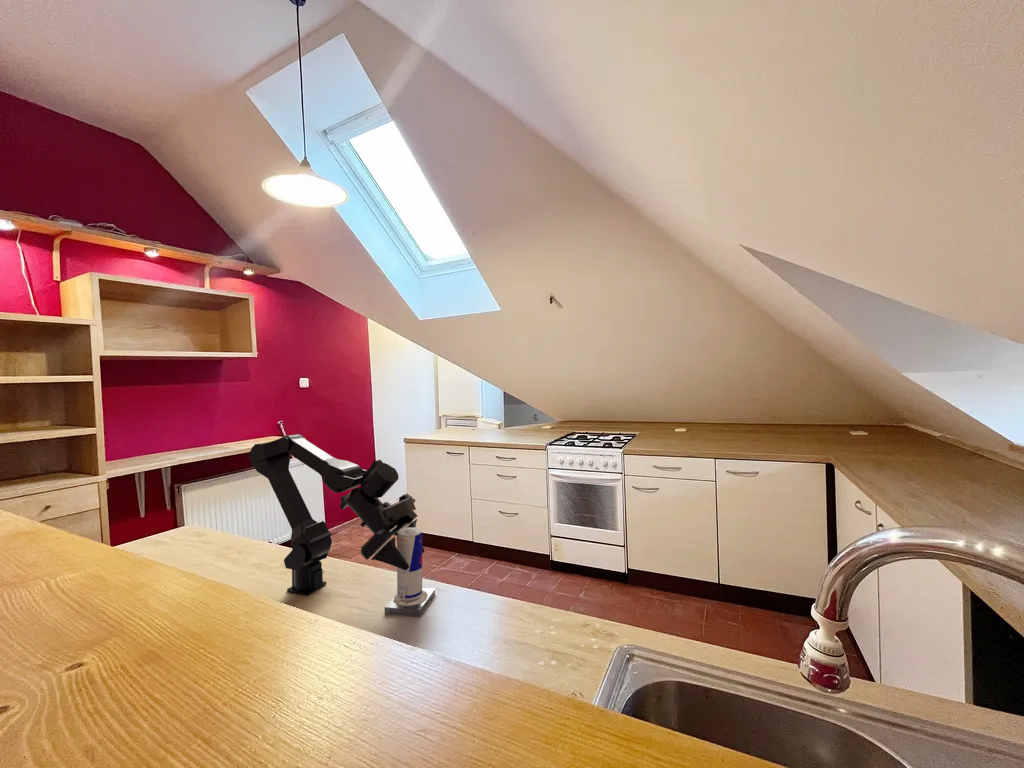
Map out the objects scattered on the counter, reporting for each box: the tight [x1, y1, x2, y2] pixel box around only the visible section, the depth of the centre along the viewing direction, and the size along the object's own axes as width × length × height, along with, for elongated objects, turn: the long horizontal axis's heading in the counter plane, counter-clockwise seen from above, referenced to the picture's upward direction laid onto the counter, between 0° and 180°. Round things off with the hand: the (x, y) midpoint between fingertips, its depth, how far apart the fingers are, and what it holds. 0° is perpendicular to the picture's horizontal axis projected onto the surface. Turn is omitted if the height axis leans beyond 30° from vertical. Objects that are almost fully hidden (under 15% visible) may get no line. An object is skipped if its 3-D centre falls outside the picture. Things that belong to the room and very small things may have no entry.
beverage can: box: [396, 527, 423, 601], centre depth 100 cm, size 6×6×15 cm
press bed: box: [384, 587, 436, 618], centre depth 100 cm, size 8×10×2 cm
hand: (415, 560), depth 99 cm, fingers open, 9 cm apart
